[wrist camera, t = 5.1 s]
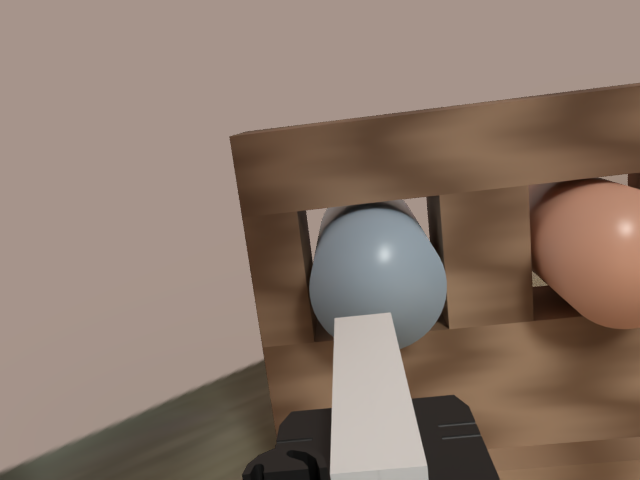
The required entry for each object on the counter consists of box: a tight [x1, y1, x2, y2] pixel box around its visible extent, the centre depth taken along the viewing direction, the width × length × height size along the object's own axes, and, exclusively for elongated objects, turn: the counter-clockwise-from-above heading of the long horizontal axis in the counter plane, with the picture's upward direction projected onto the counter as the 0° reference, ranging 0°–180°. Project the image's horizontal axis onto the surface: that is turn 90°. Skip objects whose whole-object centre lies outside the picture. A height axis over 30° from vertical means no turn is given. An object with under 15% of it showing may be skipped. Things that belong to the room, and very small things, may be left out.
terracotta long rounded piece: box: [528, 177, 640, 329], centre depth 24 cm, size 5×9×5 cm, turn 178°
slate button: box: [309, 199, 447, 349], centre depth 25 cm, size 5×9×5 cm, turn 178°
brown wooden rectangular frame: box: [230, 83, 640, 480], centre depth 25 cm, size 28×7×16 cm, turn 88°
